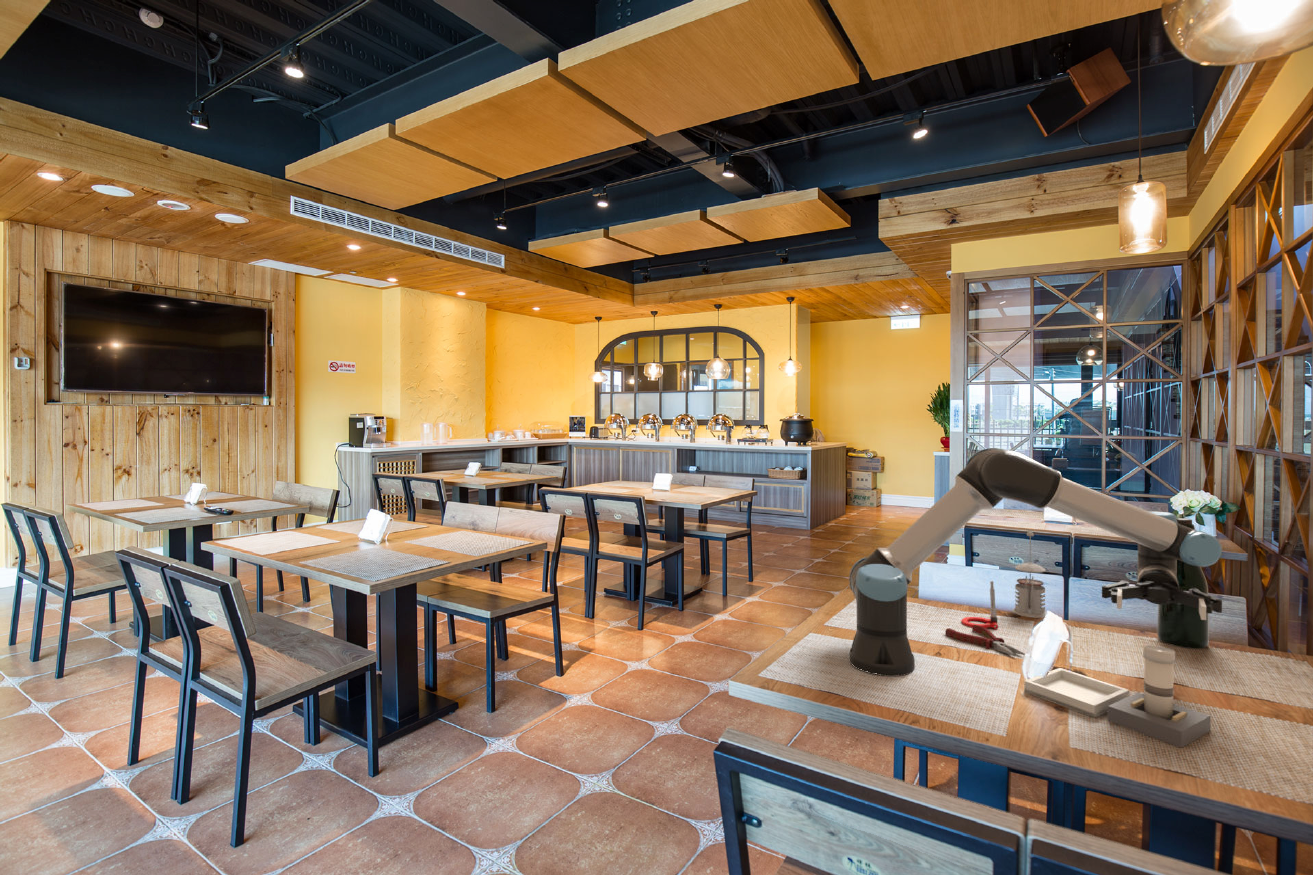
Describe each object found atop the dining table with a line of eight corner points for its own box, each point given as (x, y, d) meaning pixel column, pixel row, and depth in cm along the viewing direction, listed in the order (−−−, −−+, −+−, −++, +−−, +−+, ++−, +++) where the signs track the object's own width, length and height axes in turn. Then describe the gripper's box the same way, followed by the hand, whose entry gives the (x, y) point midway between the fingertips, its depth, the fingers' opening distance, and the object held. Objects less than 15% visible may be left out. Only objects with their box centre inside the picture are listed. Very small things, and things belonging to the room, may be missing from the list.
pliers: (1002, 662, 156) (1002, 652, 156) (943, 636, 176) (943, 627, 176) (1038, 657, 160) (1038, 646, 160) (976, 632, 179) (976, 622, 179)
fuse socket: (1181, 747, 115) (1181, 728, 115) (1107, 720, 125) (1108, 702, 125) (1210, 730, 121) (1210, 712, 120) (1137, 706, 131) (1138, 689, 131)
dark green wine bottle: (1191, 636, 171) (1193, 515, 170) (1219, 650, 161) (1220, 522, 160) (1148, 634, 173) (1149, 515, 172) (1172, 648, 163) (1174, 521, 162)
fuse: (1167, 734, 120) (1168, 656, 119) (1137, 723, 124) (1138, 648, 123) (1178, 727, 122) (1179, 651, 121) (1149, 717, 126) (1150, 643, 126)
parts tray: (1094, 717, 126) (1094, 705, 126) (1024, 691, 139) (1024, 680, 138) (1129, 701, 133) (1129, 689, 133) (1059, 678, 145) (1059, 667, 145)
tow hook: (962, 628, 182) (999, 630, 178) (960, 583, 182) (996, 585, 178) (960, 619, 190) (995, 621, 186) (958, 577, 190) (993, 578, 186)
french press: (1048, 610, 195) (1049, 530, 195) (1048, 621, 185) (1048, 536, 185) (1012, 606, 201) (1012, 528, 200) (1010, 616, 191) (1010, 534, 190)
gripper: (1230, 609, 139) (1242, 637, 122) (1092, 592, 154) (1087, 615, 138) (1230, 575, 139) (1242, 598, 122) (1092, 562, 154) (1086, 581, 137)
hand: (1160, 607), depth 130 cm, fingers open, 13 cm apart
